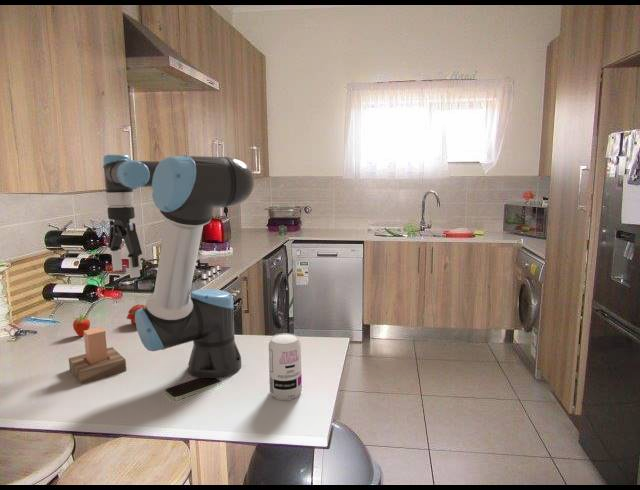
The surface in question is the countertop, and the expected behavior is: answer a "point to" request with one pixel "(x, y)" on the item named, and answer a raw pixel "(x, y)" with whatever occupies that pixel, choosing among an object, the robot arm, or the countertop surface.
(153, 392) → the countertop surface
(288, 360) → the supplement can
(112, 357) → the socket
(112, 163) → the robot arm
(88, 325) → the fruit
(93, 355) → the peg
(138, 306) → the dragon fruit
